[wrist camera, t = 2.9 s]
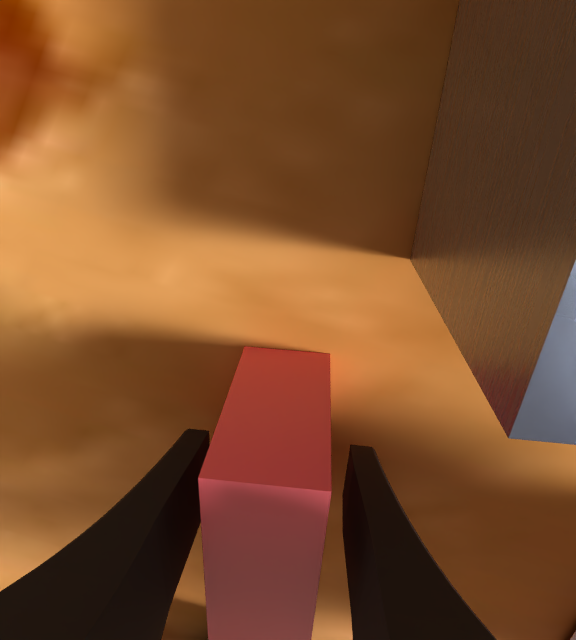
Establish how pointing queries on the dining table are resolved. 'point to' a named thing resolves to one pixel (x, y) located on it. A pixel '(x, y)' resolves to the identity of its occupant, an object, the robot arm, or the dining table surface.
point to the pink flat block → (267, 497)
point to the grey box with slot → (508, 210)
